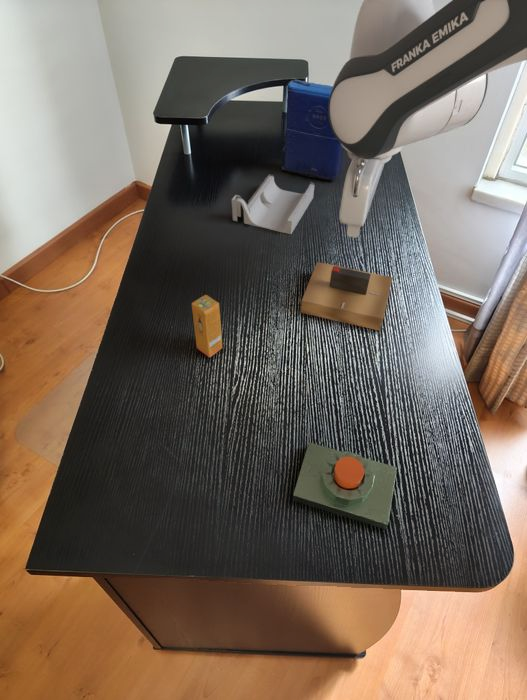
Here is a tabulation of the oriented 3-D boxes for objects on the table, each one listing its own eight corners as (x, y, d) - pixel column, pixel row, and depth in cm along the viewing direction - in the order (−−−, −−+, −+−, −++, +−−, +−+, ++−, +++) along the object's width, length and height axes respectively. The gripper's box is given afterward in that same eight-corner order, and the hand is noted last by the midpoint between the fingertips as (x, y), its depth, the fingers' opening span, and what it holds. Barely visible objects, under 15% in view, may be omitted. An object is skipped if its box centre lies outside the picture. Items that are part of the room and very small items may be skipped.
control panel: (389, 289, 88) (392, 276, 86) (379, 330, 81) (383, 317, 79) (315, 274, 91) (317, 260, 88) (300, 312, 84) (301, 299, 82)
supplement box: (224, 347, 79) (220, 303, 71) (209, 358, 77) (203, 315, 70) (211, 336, 80) (205, 292, 73) (195, 348, 79) (188, 304, 71)
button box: (394, 472, 64) (400, 460, 62) (385, 529, 59) (391, 518, 57) (308, 448, 67) (309, 435, 64) (292, 500, 62) (293, 489, 59)
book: (279, 173, 115) (281, 84, 100) (286, 163, 118) (290, 75, 103) (336, 185, 111) (348, 94, 96) (342, 174, 115) (355, 85, 99)
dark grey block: (367, 289, 84) (371, 272, 81) (365, 295, 83) (369, 278, 80) (331, 281, 85) (333, 264, 82) (329, 287, 84) (331, 270, 81)
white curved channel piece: (291, 234, 99) (292, 213, 95) (232, 220, 102) (231, 199, 98) (313, 197, 108) (315, 176, 104) (259, 186, 111) (259, 165, 107)
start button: (364, 467, 61) (366, 461, 60) (359, 492, 59) (361, 486, 58) (336, 459, 62) (338, 453, 61) (330, 484, 60) (332, 478, 58)
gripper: (384, 171, 59) (366, 260, 69) (406, 105, 71) (388, 189, 82) (333, 163, 60) (324, 252, 70) (364, 99, 73) (352, 183, 83)
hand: (358, 217), depth 76 cm, fingers open, 8 cm apart
